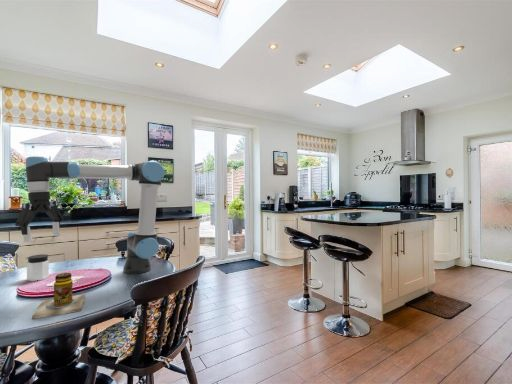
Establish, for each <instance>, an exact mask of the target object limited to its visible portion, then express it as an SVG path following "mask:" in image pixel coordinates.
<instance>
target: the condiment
mask: <svg viewBox="0 0 512 384" xmlns="http://www.w3.org/2000/svg"><path fill="white" fill-rule="evenodd" d="M54 278H55V279H54V283H53V299H54V302H52V303H50V304H47V306H52V307H55V308H62V307H65V306H67V305H70V304H72V303H74V302H76V301H77V300H72V296H73V279H72V278H73V277H72V273H71V272H61V273H59V274H56V275H55V277H54Z"/></svg>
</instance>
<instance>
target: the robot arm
mask: <svg viewBox="0 0 512 384" xmlns="http://www.w3.org/2000/svg"><path fill="white" fill-rule="evenodd" d="M25 173H26V174H25V175H26V182H27V183H26V186H27V195H28V196H27V199H28V203H27V202H26V203H21V209H20V212H19V214H18V218H17V220H16V221H15V227H18V228H20V230H21V235H22V236H23V243H31V242H32V236H31V226H29V225H30V223H31V222H32V220H33V219H34V218H35V216H36V215H38V213H45V214H46V215H47V216H48V217H49V218H51V220H52V223H51V225H52V235H53V237H59V236H61V234H60V233H61V232H60V228H61V222H62V221H64V218H65V217H64V216H63V214H62V213H61V211H60V209H59V207H58V205H57V200H55V201H50V200H51V192H50V179H61V180H66V179H67V180H68V179H69V180H71V179H74V180H75V179H93V180H94V179H102V180H103V179H104V180H105V179H106V180H108V179H109V180H110V179H113V180H114V179H115V180H117V179H121V180H122V179H125V180H126V179H128V180H129V181H136V182H137V181H138V185H139V186H140V187H141V189H140V200H139V201H140V202H139V213H138V223H137V224H138V225H137V226H138V228H137V230H136V231H134V232H133V231H131V232H128V233H127V237H126V241H127V242H126V259H125V263H124V264H123V265H124V266H123V271H122V272H123V273H124V274H130V275H133V274H134V275H137V274H142V273H146V272H149V271H150V270H152V265H151V261H150V259H151V258H153V257H154V256H155V255H156V254H157V253H158V252H159V247H160V245H159V244H160V243H159V242H158V240H157V237H158V233H157V231H156V230H155V228H156V227H155V225H156V214H157V204H158V203H157V201H158V190H159V188H160V187H161V186H162V180H163V178H164V177H165V168H164V166H163V165H162V164H161V163H160V162H159V161H157V160H147V161H145V162H144V161H143V162H141V163H129V164H128V165H117V164H116V165H114V164H113V165H111V164H81V163H79V162H78V161H50V160H49V161H48V157H45V156H29V157H26V159H25Z"/></svg>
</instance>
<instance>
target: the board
mask: <svg viewBox="0 0 512 384" xmlns="http://www.w3.org/2000/svg"><path fill="white" fill-rule="evenodd" d="M85 299H86V293H85V294H77V295H72V300H77V301H76V302H74V303H72V304H70V305H67V306H65V307H62V308H55V307H52V306H47V304H50V303H52V302H54V298H48V299H44V300H43V299H42V301H41V302H40V304H39V305H38V307H37V308H36V310H35V311H34V313H33V315H32V320H35V319H40V318H45V317H53V316H58V315H64V314H65V315H66V314H70V313H75V312H81V311H82V309H83V306H84V303H85Z"/></svg>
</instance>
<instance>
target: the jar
mask: <svg viewBox="0 0 512 384" xmlns="http://www.w3.org/2000/svg"><path fill="white" fill-rule="evenodd" d="M27 258H28V259H27V260H28V261H27V262H26V280H27V281H29V282H36V281H37V280H38V281H43V280H46V279H48V278H49V274H50V269H49V268H50V265H49V264H50V262H49V261H50V260H49V255H48V254H33V255H30V256H28V257H27ZM38 281H37V282H38Z"/></svg>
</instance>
